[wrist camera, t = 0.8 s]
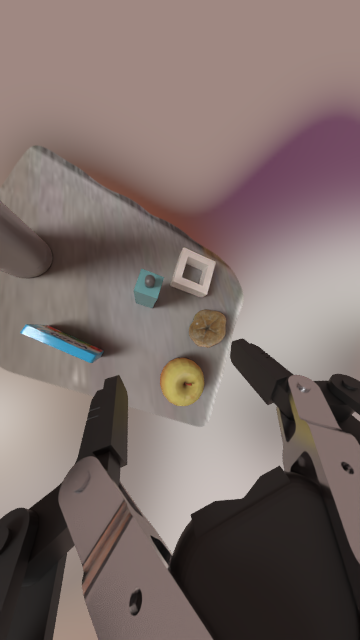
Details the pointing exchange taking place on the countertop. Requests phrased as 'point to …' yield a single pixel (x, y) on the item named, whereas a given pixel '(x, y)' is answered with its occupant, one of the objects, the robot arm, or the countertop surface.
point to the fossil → (208, 328)
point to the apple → (182, 381)
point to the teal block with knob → (147, 288)
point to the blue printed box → (62, 342)
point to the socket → (197, 262)
